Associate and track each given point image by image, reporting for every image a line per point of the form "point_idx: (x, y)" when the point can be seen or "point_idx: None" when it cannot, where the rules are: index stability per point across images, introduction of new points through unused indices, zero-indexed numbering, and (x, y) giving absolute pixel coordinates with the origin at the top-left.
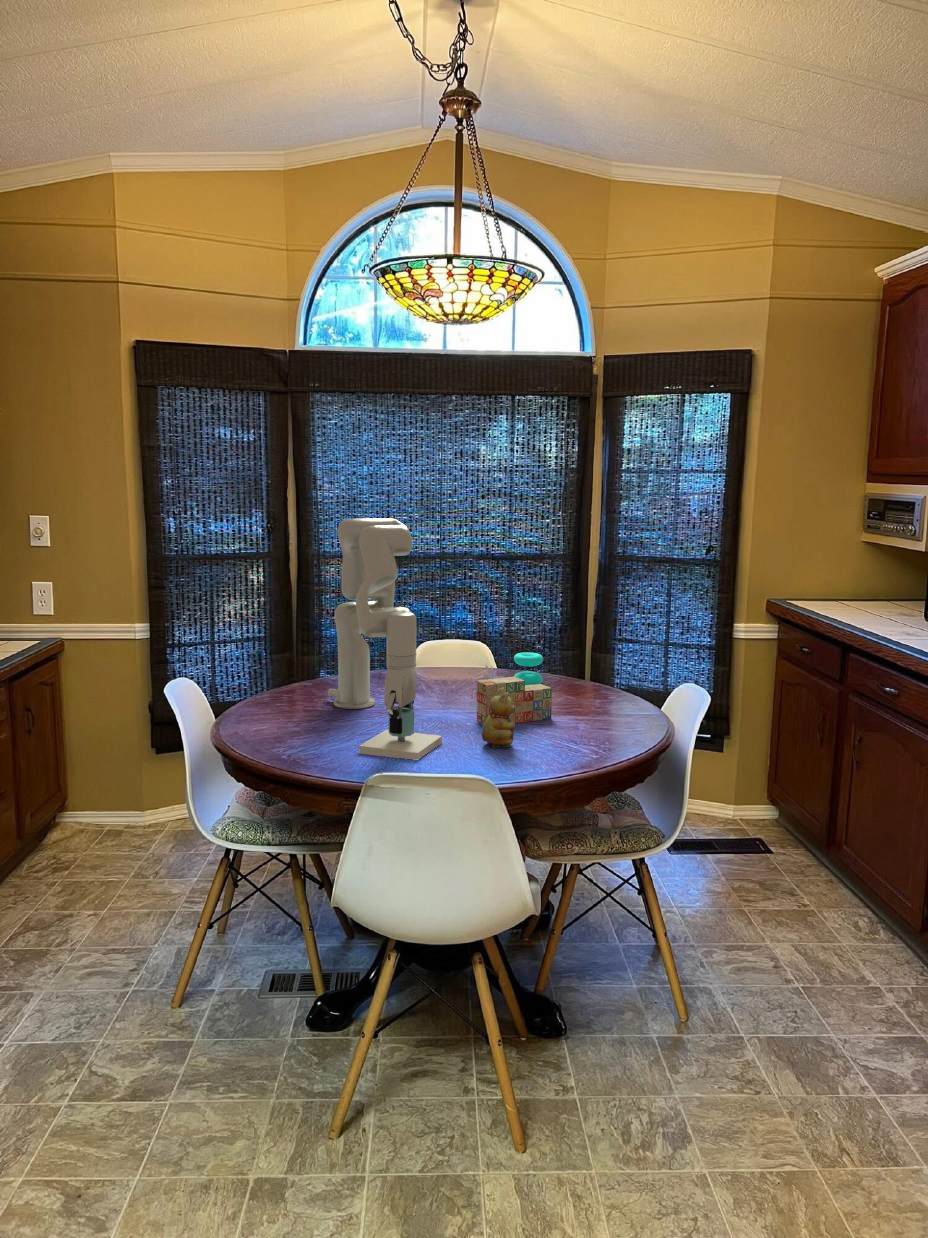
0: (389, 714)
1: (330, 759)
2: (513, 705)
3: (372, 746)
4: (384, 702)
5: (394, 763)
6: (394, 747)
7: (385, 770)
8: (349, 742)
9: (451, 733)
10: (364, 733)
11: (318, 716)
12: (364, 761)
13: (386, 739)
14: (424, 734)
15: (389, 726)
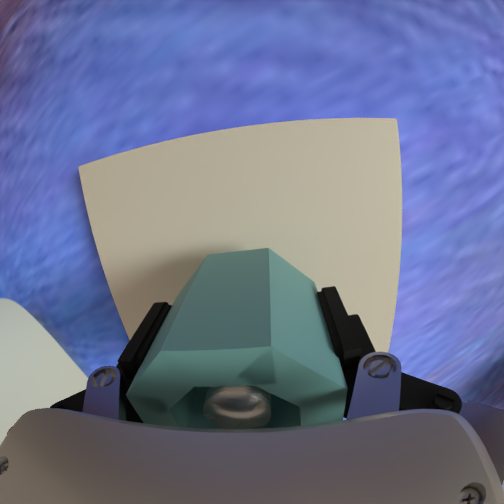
0: (66, 401)
1: (20, 131)
2: None
3: (100, 224)
4: (12, 427)
5: (101, 330)
6: (146, 313)
7: (55, 330)
8: (210, 21)
9: (476, 323)
10: (370, 13)
11: None
12: (55, 239)
13: (227, 217)
14: (385, 326)
15: (189, 286)
